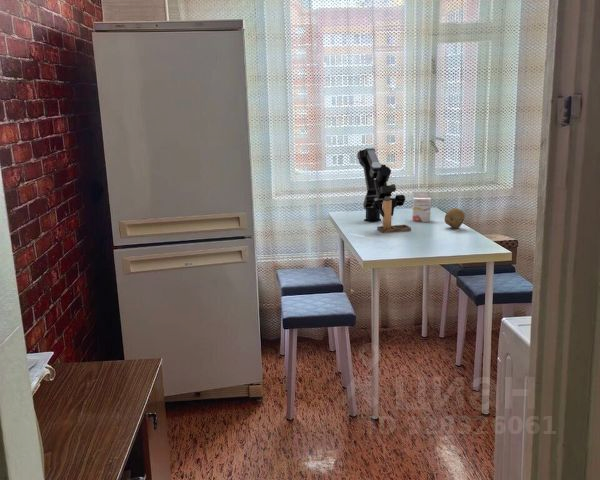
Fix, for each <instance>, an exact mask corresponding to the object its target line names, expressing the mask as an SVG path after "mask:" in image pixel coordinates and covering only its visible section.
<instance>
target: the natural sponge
mask: <svg viewBox="0 0 600 480" xmlns="http://www.w3.org/2000/svg"><path fill="white" fill-rule="evenodd" d="M465 215H466V214H465V213H464V212H463V210H462V209H460V208H456V207H455V208H454V207H453V208H451V209H449V210H447V212H446V213H445V215H444V223H445V224H446V225H448V226H449V227H451V229H455V230H457V229H459V228H460V227H461V226H462V225H463V223H464V221H465Z"/></svg>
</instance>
